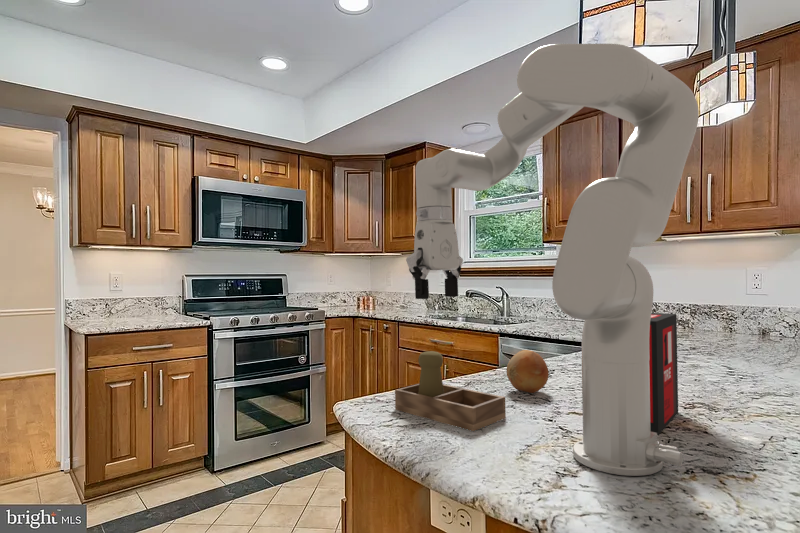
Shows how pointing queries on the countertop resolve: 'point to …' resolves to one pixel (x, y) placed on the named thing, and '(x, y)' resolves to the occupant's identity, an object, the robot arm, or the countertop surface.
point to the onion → (527, 371)
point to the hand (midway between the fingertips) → (437, 297)
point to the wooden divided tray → (453, 406)
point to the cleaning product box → (663, 370)
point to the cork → (430, 374)
